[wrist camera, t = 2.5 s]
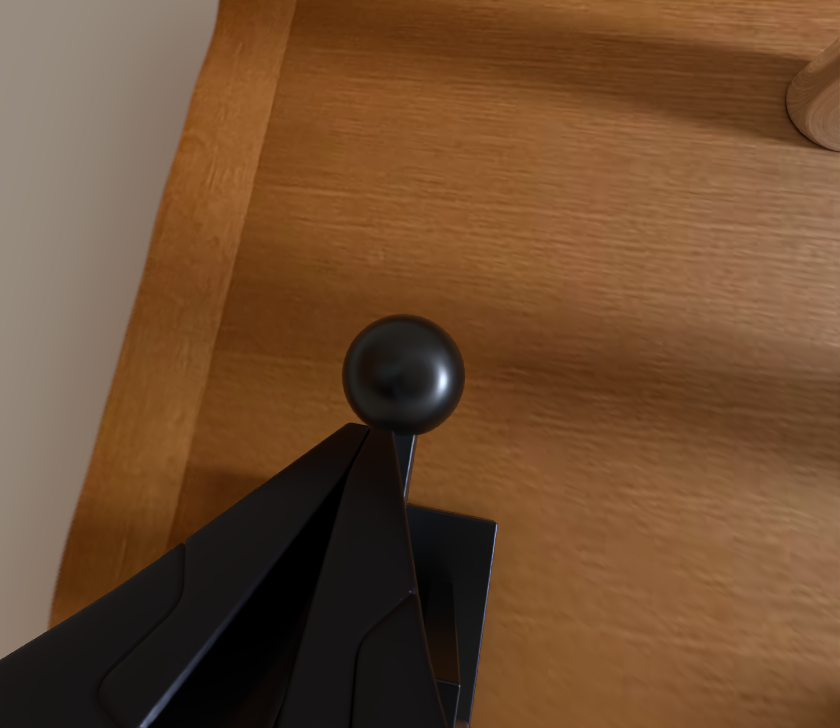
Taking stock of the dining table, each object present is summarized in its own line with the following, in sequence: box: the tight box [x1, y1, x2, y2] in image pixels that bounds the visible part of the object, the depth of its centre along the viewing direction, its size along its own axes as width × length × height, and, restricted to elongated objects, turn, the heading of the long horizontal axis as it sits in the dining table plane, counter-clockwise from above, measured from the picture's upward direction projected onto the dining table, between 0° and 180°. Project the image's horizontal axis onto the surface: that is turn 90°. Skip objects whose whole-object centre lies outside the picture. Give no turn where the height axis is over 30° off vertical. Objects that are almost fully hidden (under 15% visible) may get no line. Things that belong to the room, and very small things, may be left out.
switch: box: [342, 314, 465, 507], centre depth 11 cm, size 12×3×3 cm, turn 170°
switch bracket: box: [272, 503, 497, 728], centre depth 15 cm, size 10×8×11 cm
